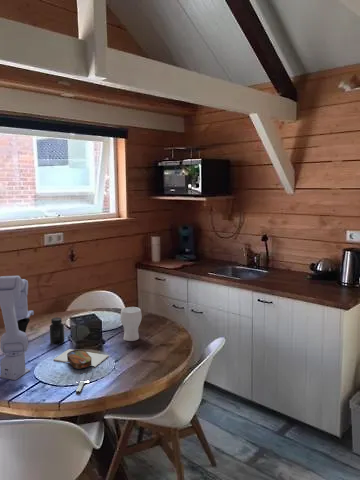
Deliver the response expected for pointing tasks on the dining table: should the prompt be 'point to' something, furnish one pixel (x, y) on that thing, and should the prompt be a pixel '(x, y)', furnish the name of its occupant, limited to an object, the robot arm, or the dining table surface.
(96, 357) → the board
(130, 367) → the dining table surface
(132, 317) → the cup
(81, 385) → the y-shaped peeler
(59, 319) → the supplement bottle
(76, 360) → the tin
